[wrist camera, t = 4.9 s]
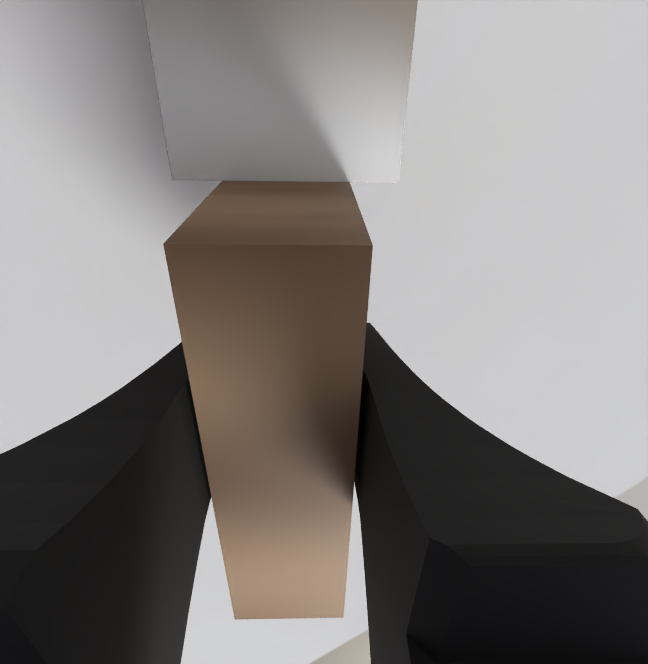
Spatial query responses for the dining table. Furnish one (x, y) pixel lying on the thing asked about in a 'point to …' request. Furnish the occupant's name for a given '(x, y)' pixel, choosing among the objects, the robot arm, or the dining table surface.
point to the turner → (279, 266)
